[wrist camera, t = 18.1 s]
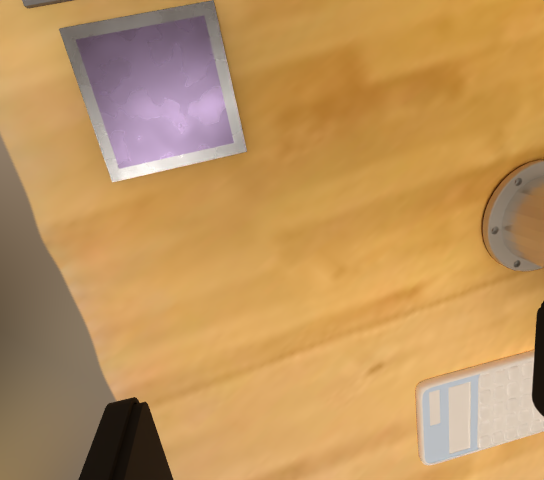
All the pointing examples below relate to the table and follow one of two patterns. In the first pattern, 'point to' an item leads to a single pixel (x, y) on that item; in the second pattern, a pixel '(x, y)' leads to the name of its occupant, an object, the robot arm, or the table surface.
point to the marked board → (41, 2)
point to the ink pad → (157, 89)
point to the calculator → (476, 408)
